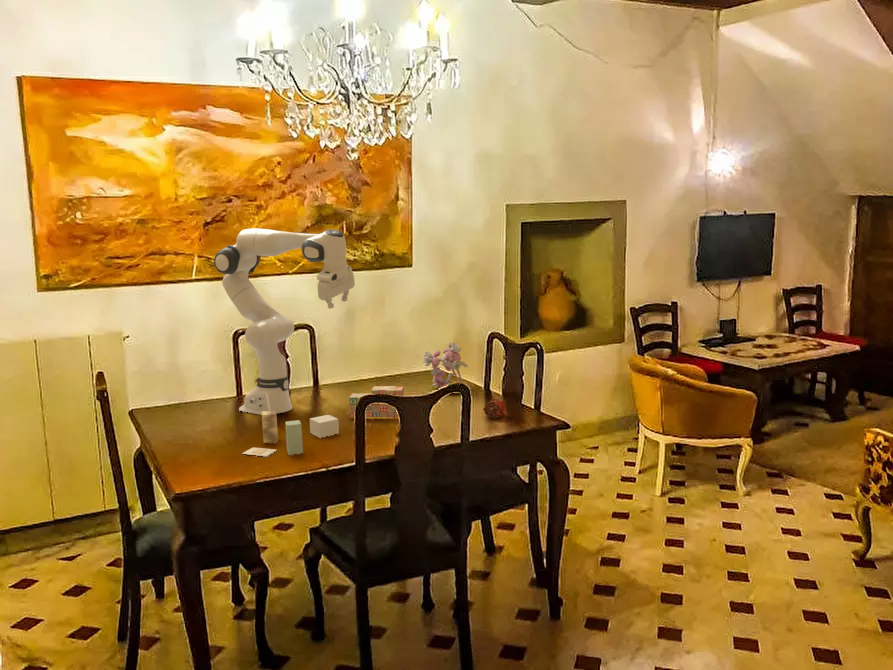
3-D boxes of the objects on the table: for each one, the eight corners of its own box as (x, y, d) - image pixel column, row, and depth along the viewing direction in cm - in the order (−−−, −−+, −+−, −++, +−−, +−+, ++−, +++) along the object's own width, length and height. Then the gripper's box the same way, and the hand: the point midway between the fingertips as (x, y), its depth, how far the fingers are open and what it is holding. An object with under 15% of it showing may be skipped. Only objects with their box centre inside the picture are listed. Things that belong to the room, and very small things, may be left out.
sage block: (287, 451, 307) (285, 421, 305) (301, 449, 309) (299, 420, 307) (288, 455, 303) (287, 425, 301) (303, 453, 304) (301, 423, 302)
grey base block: (320, 438, 322) (319, 423, 320) (310, 433, 328) (309, 418, 327) (339, 434, 326) (338, 419, 325) (329, 429, 332) (328, 414, 331)
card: (242, 455, 305) (242, 452, 304) (252, 448, 311) (252, 446, 311) (266, 457, 301) (266, 455, 301) (277, 451, 308) (276, 449, 308)
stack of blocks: (350, 419, 345) (348, 390, 342) (353, 415, 351) (351, 386, 348) (402, 419, 342) (401, 389, 340) (405, 415, 349) (403, 385, 346)
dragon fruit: (494, 426, 335) (492, 421, 347) (512, 413, 335) (509, 409, 347) (481, 409, 335) (479, 405, 347) (498, 395, 335) (496, 392, 347)
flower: (479, 381, 394) (454, 333, 392) (483, 388, 371) (456, 337, 369) (441, 401, 394) (415, 353, 392) (441, 410, 372) (415, 359, 370)
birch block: (263, 443, 317) (261, 415, 315) (264, 439, 321) (262, 411, 319) (277, 442, 317) (275, 414, 315) (277, 438, 322) (276, 410, 320)
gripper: (344, 263, 347) (346, 295, 352) (314, 277, 330) (316, 310, 335) (357, 265, 344) (359, 298, 349) (327, 279, 328) (329, 313, 333)
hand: (337, 304), depth 342 cm, fingers open, 8 cm apart
